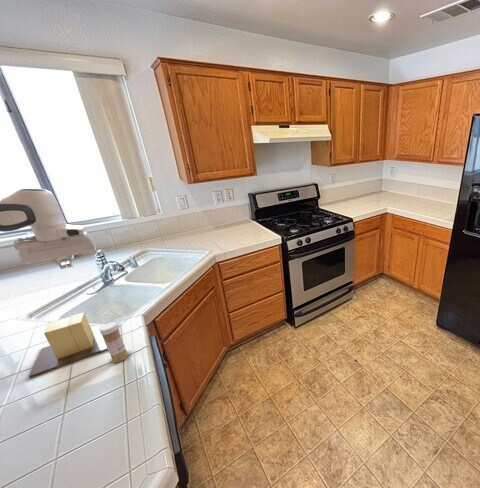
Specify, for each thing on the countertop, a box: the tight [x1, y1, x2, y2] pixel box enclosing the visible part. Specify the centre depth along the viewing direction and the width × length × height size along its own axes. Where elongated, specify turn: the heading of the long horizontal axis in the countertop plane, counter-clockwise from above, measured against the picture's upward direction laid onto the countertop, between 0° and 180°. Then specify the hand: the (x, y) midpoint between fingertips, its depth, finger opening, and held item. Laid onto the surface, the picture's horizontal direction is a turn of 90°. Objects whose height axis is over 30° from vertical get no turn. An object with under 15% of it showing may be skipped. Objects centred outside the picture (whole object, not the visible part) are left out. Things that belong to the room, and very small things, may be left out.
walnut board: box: [28, 329, 108, 379], centre depth 96 cm, size 22×16×1 cm
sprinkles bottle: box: [98, 321, 129, 363], centre depth 88 cm, size 5×5×14 cm
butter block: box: [43, 315, 80, 359], centre depth 93 cm, size 6×7×11 cm
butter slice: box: [68, 311, 94, 351], centre depth 96 cm, size 3×8×11 cm, turn 35°
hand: (67, 267), depth 99 cm, fingers closed
